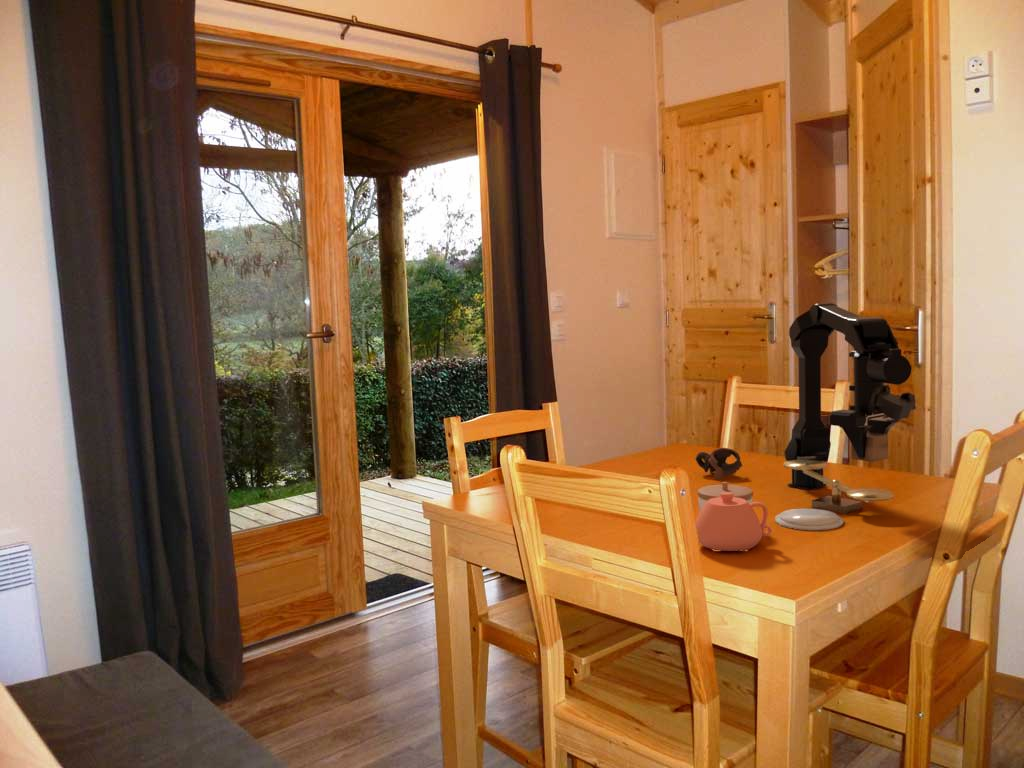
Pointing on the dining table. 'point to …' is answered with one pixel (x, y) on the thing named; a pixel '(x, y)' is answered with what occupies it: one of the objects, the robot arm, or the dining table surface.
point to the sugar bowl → (730, 523)
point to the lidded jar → (715, 491)
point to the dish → (809, 519)
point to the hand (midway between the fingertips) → (869, 456)
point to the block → (873, 448)
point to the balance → (838, 489)
